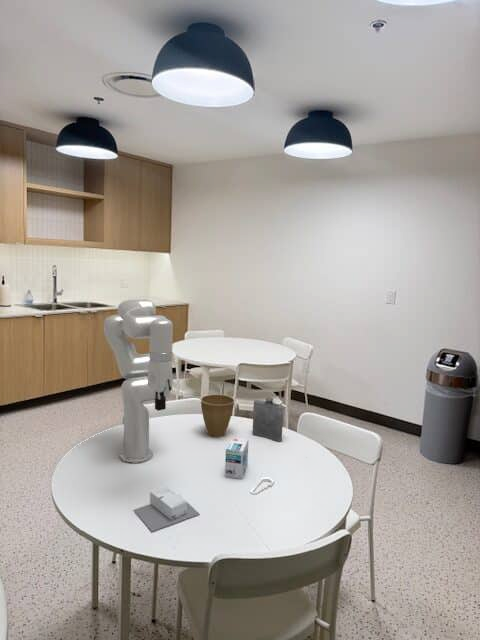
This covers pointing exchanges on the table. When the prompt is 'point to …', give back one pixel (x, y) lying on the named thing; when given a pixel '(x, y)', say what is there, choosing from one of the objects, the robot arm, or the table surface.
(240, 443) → the light bulb box
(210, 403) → the plant pot
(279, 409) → the flask
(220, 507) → the table surface
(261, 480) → the stepped key frame
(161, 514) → the mat
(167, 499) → the skincare box
